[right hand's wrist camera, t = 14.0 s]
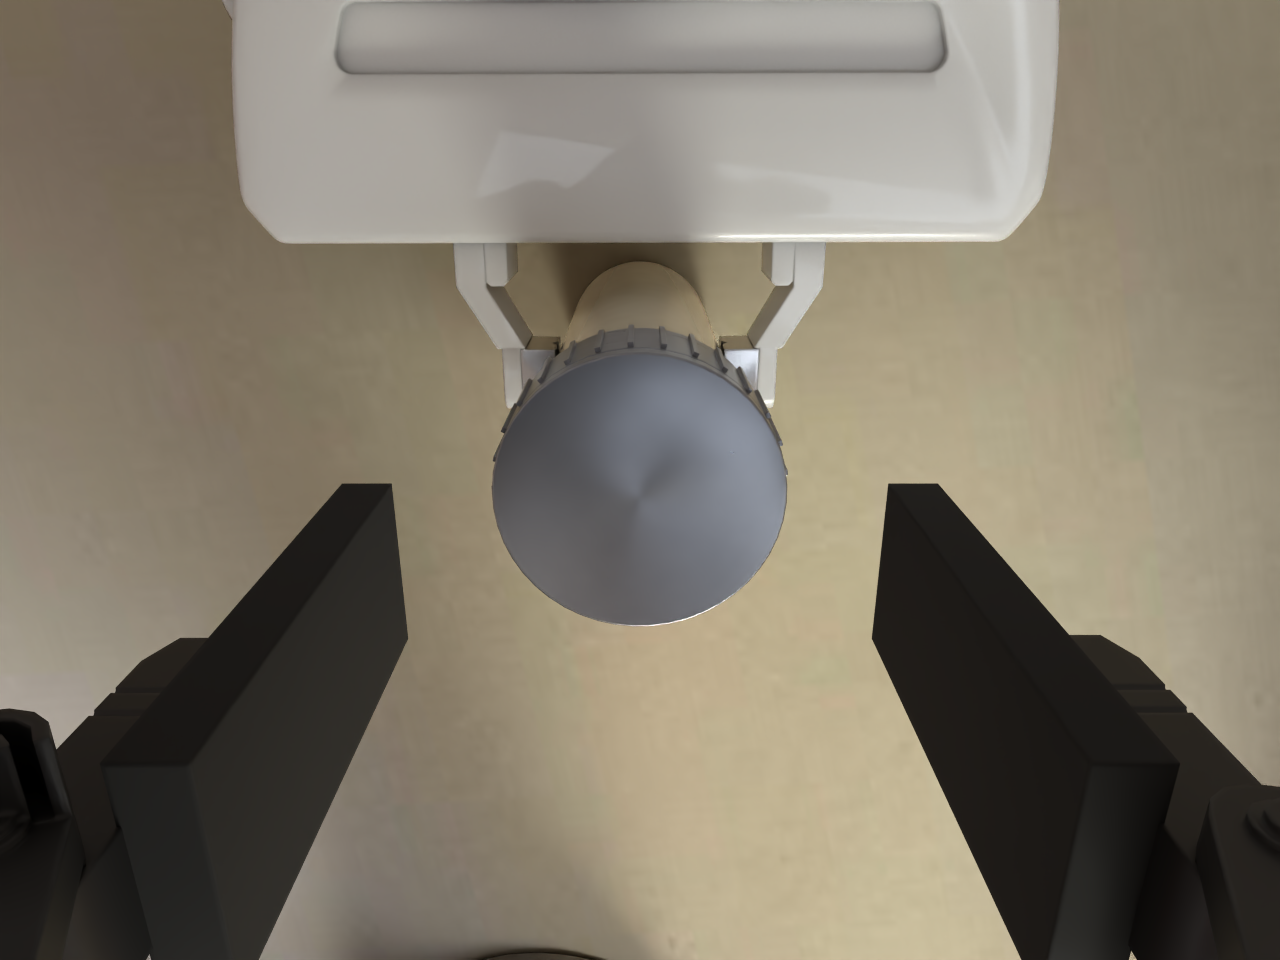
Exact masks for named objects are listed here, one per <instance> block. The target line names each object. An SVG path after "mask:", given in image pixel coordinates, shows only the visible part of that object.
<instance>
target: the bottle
mask: <svg viewBox="0 0 1280 960" xmlns="http://www.w3.org/2000/svg"><path fill="white" fill-rule="evenodd" d="M630 324H634V328H653V329H659V326H665V330H667V331H671V332H675V333H679V334H683V335H685V336H689V333H690V334H693V335H694V336H695V340H698V341H700V342H702V343H704V344H705V345H707V346H709V347H711V348H713V349H714V350H715V349H716V347H718V344H717V341H716V339H715V336H714V333H713V331H712V328H711V326H710V323H709V320H708V318H707V315H706V312H705V310H704V307H703V305H702V302H701V300H700V298H699V296H698V294H697V292H696V291H695V289H694V288H693V287H692V286H691V284H690V283H689V282H688V281H687V280H686V279H685V278H684V277H682V276H681V275H680V274H678V273H677V272H675V271H674V270H672V269H670V268H668V267H665V266H663V265H660V264H656V263H652V262H644V261H639V262H628V263H624V264H620V265H617V266H615V267H612V268H610V269H608V270H606V271H605V272H603V273H602V274H600V275H599V276H598V277H597V278H595V279H594V280H593V281H592V282H591V283H590V285H589V286H588V287H587V288H586V290H585V291H584V293H583V294H582V296H581V298H580V300H579V302H578V305H577V307H576V310H575V312H574V315H573V318H572V320H571V323H570V326H569V328H568V331H567V333H566V336H565V339H564V341H563V344H562V346H561V349H560V352H559V353H561V352H562V351H564V350H566V349H567V348H568V347H569V344H570V342H572V341H573V340H575V341H576V343H577V342H580V341H582V340H584V339H586V338H589V337H591V336H594V335H597V334H598V330H601V329H604V332H608V331H612V330H619V329H625V328H628V327H629V325H630ZM718 348H719V347H718Z"/></svg>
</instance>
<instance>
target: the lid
mask: <svg viewBox="0 0 1280 960" xmlns="http://www.w3.org/2000/svg"><path fill="white" fill-rule="evenodd" d="M501 432H503V433H504V435H503V437H502V440H501V442H500V444H499V446H498V448H497V450H496V452H495V455H494V457H493V461H494V462H495V465H494V470H493V481H492V497H493V509H494V513H495V517H496V522H497V526H498V529H499V531H500V534H501V537H502V539H503V542H504V544H505V546H506V548H507V550H508V551H509V553H510V555H511V557H512V559H513V560H514V561H515V563H516V564H517V566H518V567H519V568H520V570H521V571H522V572H523V574H524V575H525V576H526V577H527V578H528V579H529V580H530V581H531V582H532V583H533V584H534V585H535V586H536V587H537V588H538V589H539V590H541V591H542V592H543V593H544V594H546V595H547V596H548V597H549V598H551V599H552V600H554V601H555V602H557V603H559V604H560V605H562V606H563V607H565V608H567V609H569V610H571V611H573V612H576V613H578V614H580V615H582V616H585V617H588V618H591V619H594V620H597V621H601V622H606V623H611V624H615V625H626V626H655V625H662V624H670V623H674V622H678V621H682V620H686V619H689V618H691V617H694V616H697V615H699V614H702V613H704V612H706V611H708V610H710V609H712V608H714V607H716V606H718V605H720V604H721V603H722V602H724V601H725V600H727V599H728V598H730V597H731V596H733V595H734V594H735V593H736V592H738V591H739V590H740V589H741V588H742V587H743V586H744V585H745V584H747V583H748V582H749V580H750V579H751V578H752V577H753V576H754V575H755V574H756V572H757V571H758V570H759V569H760V568H761V566H762V565H763V563H764V562H765V560H766V559H767V557H768V556H769V554H770V552H771V550H772V548H773V546H774V544H775V542H776V540H777V538H778V535H779V532H780V529H781V526H782V523H783V520H784V514H785V509H786V503H787V478H786V475H788V471H787V468H786V466H785V463H784V459H783V455H782V451H781V448H780V446H782V445H783V443H782V440H781V438H780V436H779V434H778V432H777V430H776V427H775V425H774V423H773V421H772V419H771V415H770V413H769V411H768V409H767V406H766V404H765V402H764V400H763V398H762V396H761V394H760V392H759V390H758V389H757V390H755V391H754V390H753V388H752V386H751V385H750V383H749V381H748V379H747V377H746V375H745V372H744V370H743V369H742V367H741V366H739V367H738V368H736V367H735V366H734V365H733V364H732V363H731V362H730V361H729V360H728V359H726V358H725V357H724V356H723V354H722V351H721V349H719V348H718V347H716V349H715V350H714V349H713V348H711V347H709V346H707V345H705V344H704V343H702V342H700V341H698V340H695V336H694V335H693V334H690V333H689V336H685V335H683V334H679V333H675V332H671V331H667V330H665V326H659V329H653V328H634V324H630V325H629V327H628V328H625V329H619V330H612V331H608V332H604V329H601V330H598V334H597V335H594V336H591V337H589V338H586V339H584V340H582V341H580V342H577V343H576V341H575V340H573V341H572V342H570V344H569V347H568V348H567V349H566V350H564V351H562V352H561V353H559V354H558V355H557V356H556V357H555V358H553V359H551V357H548V358H547V359H546V361H545V363H544V365H543V368H542V370H541V371H540V372H539V373H538V374H537V375H536V376H535V377H534V379H533V380H531V379H530V378H529V379H528V380H527V381H526V383H525V386H524V388H523V390H522V392H521V394H520V396H519V398H518V400H517V402H516V403H514V405H513V407H512V409H511V411H510V413H509V415H508V417H507V419H506V421H505V423H504V425H503V428H502V430H501Z"/></svg>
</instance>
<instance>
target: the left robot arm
mask: <svg viewBox="0 0 1280 960" xmlns="http://www.w3.org/2000/svg"><path fill="white" fill-rule="evenodd" d="M222 2H223V4H224V7H225V9H226V11H227V13H228V15H229V17H230V18H231V20H232V100H233V121H234V135H235V148H236V158H237V169H238V178H239V185H240V191H241V196H242V199H243V202H244V204H245V206H246V207H247V209H248V210H249V211H250V212H251V213H252V215H253V216H254V217H255V218H256V219H257V220H258V221H259V222H260V224H261V225H262V226H263V227H264V228H265V229H266V230H267V231H268V232H269V233H270V234H271V235H272V236H273V237H274V238H275V239H276V240H277V241H279V242H282V243H294V244H325V243H453V249H454V263H455V276H456V287H457V289H458V290H459V292H460V293H461V295H462V296H463V298H464V299H465V301H466V302H467V304H468V305H469V307H470V308H471V310H472V311H473V313H474V315H475V316H476V318H477V319H478V321H479V322H480V324H481V325H482V327H483V328H484V330H485V331H486V333H487V334H488V336H489V337H490V339H491V340H492V342H493V343H494V345H495V346H496V348H497V349H502V357H503V374H504V390H505V402H506V406H507V408H512V407H513V405H514V403H516V402H517V400H518V398H519V396H520V394H521V392H522V390H523V388H524V386H525V383H526V381H527V380H528V379H529V378H530V379H531V380H533V379H534V377H535V376H536V375H537V374H538V373H539V372H540V371H541V370H542V368H543V365H544V363H545V361H546V359H547V358H548V357H551V359H553V358H555V357H556V356H557V355H558V354H559V352H560V349H561V343H560V337H546V336H532V333H531V331H530V330H529V328H528V326H527V325H526V323H525V321H524V320H523V318H522V316H521V315H520V313H519V311H518V310H517V308H516V306H515V305H514V303H513V301H512V300H511V298H510V296H509V295H508V293H507V291H506V290H505V288H504V286H505V285H506V284H507V283H508V282H509V280H510V279H511V278H512V277H513V276H514V275H515V274H516V273H517V272H518V259H517V243H682V242H762V267H761V271H762V272H763V273H764V274H765V275H766V276H767V278H768V279H769V280H770V281H771V282H772V283H773V284H774V285H775V288H774V289H773V291H772V293H771V294H770V296H769V298H768V299H767V301H766V303H765V304H764V306H763V308H762V309H761V311H760V313H759V314H758V316H757V318H756V319H755V321H754V323H753V324H752V326H751V328H750V329H749V331H748V333H747V335H748V336H719V349H721V351H722V354H723V356H724V357H725V358H726V359H728V360H729V361H730V362H731V363H732V364H733V365H734V366H735V367H736V368H738V367H739V366H741V367H742V369H743V370H744V372H745V375H746V377H747V379H748V381H749V383H750V385H751V386H752V388H753V390H754V391H755V390H757V389H758V390H759V392H760V394H761V396H762V398H763V400H764V402H765V404H766V406H767V408H772V407H773V404H774V399H775V385H776V366H777V348H783V346H784V344H785V343H786V341H787V340H788V338H789V337H790V335H791V334H792V332H793V331H794V329H795V328H796V326H797V325H798V323H799V322H800V320H801V319H802V317H803V316H804V314H805V313H806V311H807V310H808V308H809V307H810V305H811V304H812V302H813V301H814V299H815V298H816V296H817V295H818V293H819V292H820V290H821V288H822V287H823V275H824V262H825V248H826V242H997V241H1001V240H1004V239H1005V238H1007V237H1008V236H1009V235H1010V234H1011V233H1012V232H1013V231H1014V230H1015V229H1016V228H1017V227H1018V226H1019V225H1020V224H1021V223H1022V221H1023V220H1024V219H1025V218H1026V217H1027V216H1028V214H1029V213H1030V212H1031V211H1032V210H1033V209H1034V207H1035V206H1036V205H1037V204H1038V202H1039V200H1040V198H1041V196H1042V193H1043V190H1044V185H1045V181H1046V176H1047V170H1048V164H1049V157H1050V150H1051V142H1052V133H1053V124H1054V114H1055V102H1056V90H1057V73H1058V55H1059V0H222Z"/></svg>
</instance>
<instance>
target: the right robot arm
mask: <svg viewBox="0 0 1280 960" xmlns="http://www.w3.org/2000/svg"><path fill="white" fill-rule="evenodd" d="M407 640H408V633H407V624H406V614H405V605H404V595H403V586H402V577H401V567H400V558H399V548H398V539H397V530H396V520H395V511H394V502H393V492H392V484H341V486H340V487H339V488H338V489H337V490H336V491H335V493H334V494H333V495H332V496H331V497H330V498H329V499H328V501H327V502H326V503H325V504H324V505H323V506H322V508H321V509H320V510H319V511H318V512H317V513H316V514H315V516H314V517H313V518H312V519H311V520H310V521H309V523H308V524H307V525H306V526H305V527H304V528H303V529H302V531H301V532H300V533H299V534H298V535H297V536H296V537H295V539H294V540H293V541H292V542H291V543H290V544H289V546H288V547H287V548H286V549H285V550H284V551H283V552H282V554H281V555H280V556H279V557H278V558H277V559H276V561H275V562H274V563H273V564H272V565H271V566H270V567H269V569H268V570H267V571H266V572H265V573H264V574H263V576H262V577H261V578H260V579H259V580H258V581H257V582H256V584H255V585H254V586H253V587H252V588H251V589H250V590H249V592H248V593H247V594H246V595H245V596H244V597H243V599H242V600H241V601H240V602H239V603H238V604H237V605H236V607H235V608H234V609H233V610H232V611H231V612H230V614H229V615H228V616H227V617H226V618H225V619H224V620H223V622H222V623H221V624H220V625H219V626H218V627H217V629H216V630H215V631H214V632H213V633H212V634H211V635H210V637H209V638H179V639H178V640H176V641H174V642H173V643H171V644H169V645H168V646H166V647H164V648H162V649H161V650H159V651H157V652H156V653H154V654H152V655H151V656H149V657H147V658H146V659H144V660H142V661H141V662H140V663H139V664H138V665H137V666H136V667H135V668H134V669H133V670H132V671H131V672H130V673H129V674H128V675H127V677H126V678H125V679H124V680H123V681H122V682H121V683H120V684H119V685H118V686H117V687H116V692H115V693H110V694H109V695H108V696H107V697H106V698H105V699H104V701H103V702H102V703H101V704H100V705H99V706H98V707H97V708H96V709H95V710H94V716H88V717H87V718H86V719H85V720H84V721H83V722H82V724H81V725H80V726H79V727H78V728H77V729H76V730H75V731H74V732H73V733H72V734H71V735H70V736H69V737H68V738H67V739H66V740H65V741H64V742H63V743H62V744H61V745H60V746H59V748H58V749H57V750H56V747H55V743H54V740H53V736H52V733H51V729H50V726H49V722H48V721H46V720H45V719H44V718H42V717H41V716H39V715H38V714H36V713H35V712H31V711H23V710H16V709H1V710H0V960H146V959H147V957H148V955H149V954H150V957H151V960H259V958H260V955H261V953H262V951H263V949H264V947H265V945H266V943H267V940H268V938H269V936H270V934H271V932H272V930H273V928H274V925H275V923H276V921H277V919H278V917H279V915H280V912H281V910H282V908H283V906H284V904H285V902H286V900H287V897H288V895H289V893H290V891H291V889H292V887H293V885H294V882H295V880H296V878H297V876H298V874H299V872H300V870H301V867H302V865H303V863H304V861H305V859H306V857H307V855H308V852H309V850H310V848H311V846H312V844H313V842H314V839H315V837H316V835H317V833H318V831H319V829H320V827H321V824H322V822H323V820H324V818H325V816H326V814H327V812H328V809H329V807H330V805H331V803H332V801H333V799H334V797H335V794H336V792H337V790H338V788H339V786H340V784H341V781H342V779H343V777H344V775H345V773H346V771H347V769H348V766H349V764H350V762H351V760H352V758H353V756H354V754H355V751H356V749H357V747H358V745H359V743H360V741H361V739H362V736H363V734H364V732H365V730H366V728H367V726H368V724H369V721H370V719H371V717H372V715H373V713H374V711H375V708H376V706H377V704H378V702H379V700H380V698H381V696H382V693H383V691H384V689H385V687H386V685H387V683H388V681H389V678H390V676H391V674H392V672H393V670H394V668H395V666H396V663H397V661H398V659H399V657H400V655H401V653H402V651H403V648H404V646H405V644H406V642H407ZM872 640H873V642H874V644H875V646H876V648H877V651H878V653H879V655H880V657H881V659H882V661H883V663H884V666H885V668H886V670H887V672H888V674H889V676H890V678H891V681H892V683H893V685H894V687H895V689H896V691H897V693H898V696H899V698H900V700H901V702H902V704H903V706H904V708H905V711H906V713H907V715H908V717H909V719H910V721H911V724H912V726H913V728H914V730H915V732H916V734H917V736H918V739H919V741H920V743H921V745H922V747H923V749H924V751H925V754H926V756H927V758H928V760H929V762H930V764H931V766H932V769H933V771H934V773H935V775H936V777H937V779H938V782H939V784H940V786H941V788H942V790H943V792H944V794H945V797H946V799H947V801H948V803H949V805H950V807H951V809H952V812H953V814H954V816H955V818H956V820H957V822H958V824H959V827H960V829H961V831H962V833H963V835H964V837H965V839H966V842H967V844H968V846H969V848H970V850H971V852H972V855H973V857H974V859H975V861H976V863H977V865H978V867H979V870H980V872H981V874H982V876H983V878H984V880H985V882H986V885H987V887H988V889H989V891H990V893H991V895H992V897H993V900H994V902H995V904H996V906H997V908H998V910H999V912H1000V915H1001V917H1002V919H1003V921H1004V923H1005V925H1006V928H1007V930H1008V932H1009V934H1010V936H1011V938H1012V940H1013V943H1014V945H1015V947H1016V949H1017V951H1018V953H1019V955H1020V958H1021V960H1129V957H1130V953H1131V951H1132V952H1133V954H1134V956H1135V957H1136V959H1137V960H1280V787H1275V786H1267V785H1261V784H1260V783H1259V781H1258V780H1257V779H1256V778H1255V777H1254V776H1253V775H1252V774H1251V773H1250V772H1249V771H1248V770H1247V769H1246V768H1245V767H1244V766H1243V765H1242V764H1241V763H1240V762H1239V761H1238V760H1237V759H1236V758H1235V757H1234V756H1233V755H1232V753H1231V752H1230V751H1229V750H1228V749H1227V748H1226V747H1225V746H1224V745H1223V744H1222V743H1221V742H1220V741H1219V740H1218V739H1217V738H1216V737H1215V736H1214V735H1213V734H1212V733H1211V732H1210V731H1209V730H1208V729H1207V728H1206V727H1205V726H1204V724H1203V723H1202V722H1201V721H1200V720H1199V719H1198V718H1197V717H1196V716H1195V715H1194V714H1193V713H1187V710H1186V708H1187V707H1186V706H1185V705H1184V704H1183V703H1182V702H1181V701H1180V700H1179V699H1178V698H1177V696H1176V695H1175V694H1174V693H1173V692H1172V691H1171V690H1166V689H1165V684H1164V683H1163V682H1162V681H1161V680H1160V679H1159V678H1158V677H1157V676H1156V675H1155V674H1154V673H1153V672H1152V671H1151V670H1150V669H1149V667H1148V666H1147V665H1146V664H1145V663H1144V662H1143V661H1142V660H1141V659H1140V658H1139V657H1137V656H1135V655H1133V654H1132V653H1130V652H1128V651H1127V650H1125V649H1123V648H1122V647H1120V646H1118V645H1116V644H1115V643H1113V642H1111V641H1110V640H1108V639H1106V638H1105V637H1103V636H1101V635H1069V634H1068V633H1067V632H1066V631H1065V630H1064V629H1063V627H1062V626H1061V625H1060V624H1059V623H1058V622H1057V620H1056V619H1055V618H1054V617H1053V616H1052V615H1051V614H1050V612H1049V611H1048V610H1047V609H1046V608H1045V607H1044V605H1043V604H1042V603H1041V602H1040V601H1039V600H1038V599H1037V597H1036V596H1035V595H1034V594H1033V593H1032V592H1031V591H1030V589H1029V588H1028V587H1027V586H1026V585H1025V584H1024V582H1023V581H1022V580H1021V579H1020V578H1019V577H1018V576H1017V574H1016V573H1015V572H1014V571H1013V570H1012V569H1011V567H1010V566H1009V565H1008V564H1007V563H1006V562H1005V561H1004V559H1003V558H1002V557H1001V556H1000V555H999V554H998V552H997V551H996V550H995V549H994V548H993V547H992V546H991V544H990V543H989V542H988V541H987V540H986V539H985V537H984V536H983V535H982V534H981V533H980V532H979V531H978V529H977V528H976V527H975V526H974V525H973V524H972V523H971V521H970V520H969V519H968V518H967V517H966V516H965V514H964V513H963V512H962V511H961V510H960V509H959V508H958V506H957V505H956V504H955V503H954V502H953V501H952V499H951V498H950V497H949V496H948V495H947V494H946V493H945V491H944V490H943V489H942V488H941V487H940V486H939V484H888V492H887V502H886V511H885V520H884V530H883V539H882V548H881V558H880V567H879V577H878V586H877V595H876V605H875V614H874V624H873V633H872ZM484 960H589V959H585V958H580V957H575V956H569V955H562V954H551V953H521V954H510V955H504V956H498V957H492V958H488V959H484Z"/></svg>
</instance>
